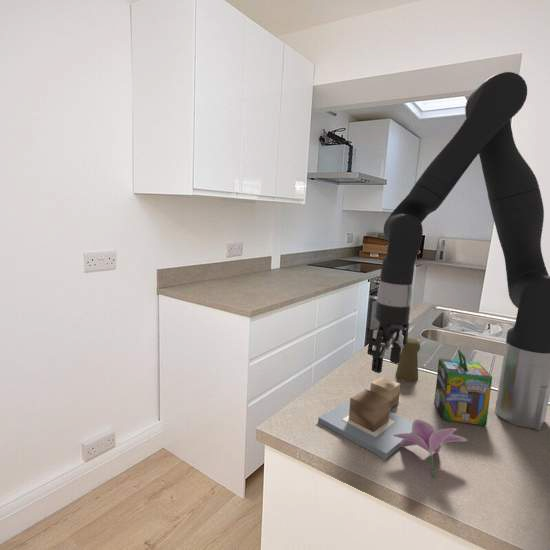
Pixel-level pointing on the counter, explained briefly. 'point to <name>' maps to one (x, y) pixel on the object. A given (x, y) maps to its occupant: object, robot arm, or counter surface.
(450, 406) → the chalk box
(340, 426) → the board
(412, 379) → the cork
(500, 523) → the counter surface
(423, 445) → the lily
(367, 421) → the walnut block
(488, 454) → the counter surface
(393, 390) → the oak cube
